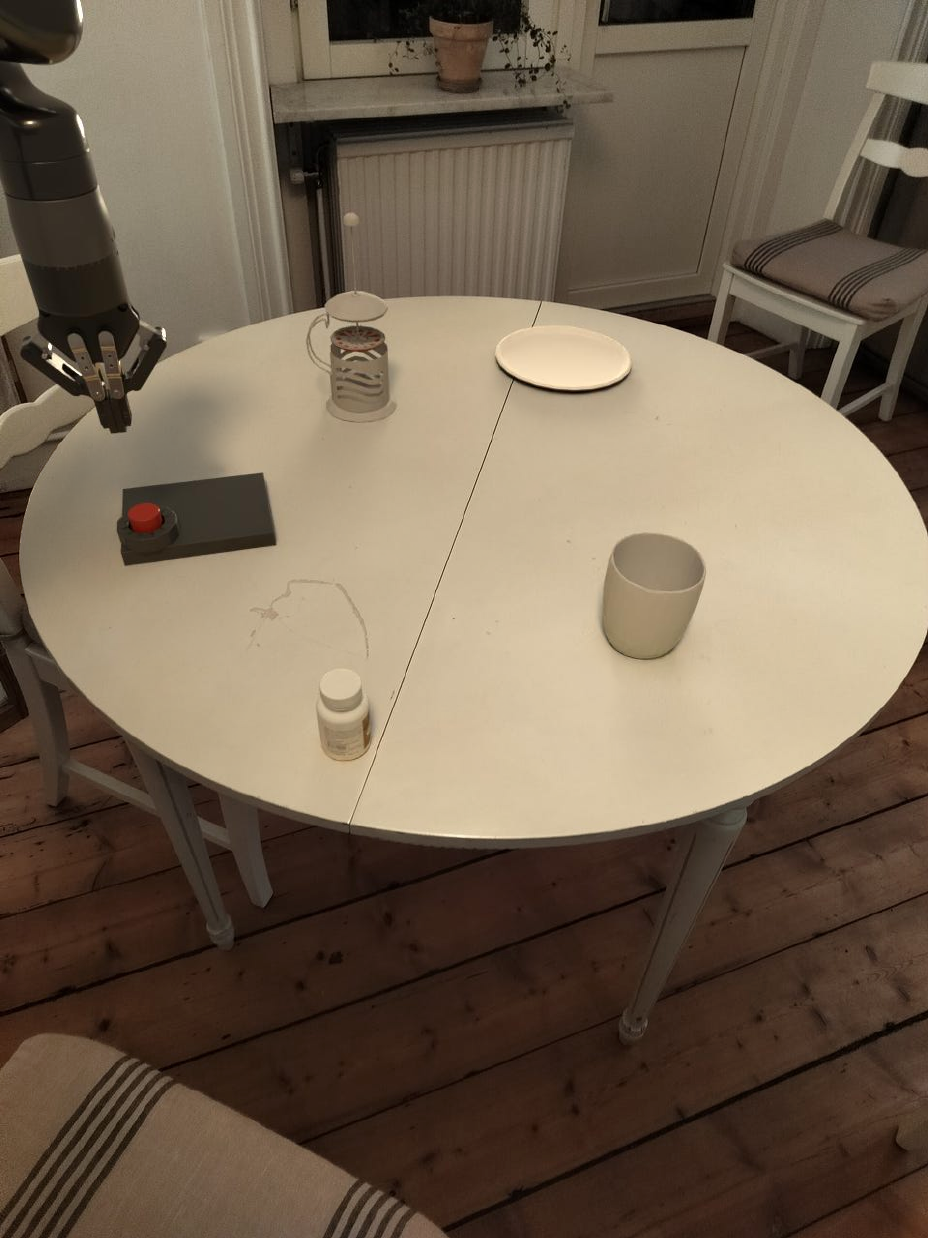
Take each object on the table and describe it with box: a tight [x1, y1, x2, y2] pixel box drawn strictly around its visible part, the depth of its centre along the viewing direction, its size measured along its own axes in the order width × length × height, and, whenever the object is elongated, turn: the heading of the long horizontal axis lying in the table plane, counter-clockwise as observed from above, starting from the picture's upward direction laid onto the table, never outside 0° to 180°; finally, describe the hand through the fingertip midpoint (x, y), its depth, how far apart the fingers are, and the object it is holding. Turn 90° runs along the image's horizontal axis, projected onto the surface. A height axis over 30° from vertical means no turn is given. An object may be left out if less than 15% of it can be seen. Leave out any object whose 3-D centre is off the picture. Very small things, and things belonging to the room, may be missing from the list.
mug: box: [602, 531, 707, 660], centre depth 82 cm, size 13×9×10 cm
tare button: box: [128, 503, 163, 533], centre depth 89 cm, size 3×3×2 cm
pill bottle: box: [315, 668, 372, 762], centre depth 70 cm, size 4×4×8 cm
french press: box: [305, 212, 398, 423], centre depth 107 cm, size 10×12×25 cm
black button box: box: [116, 472, 277, 567], centre depth 93 cm, size 16×12×4 cm
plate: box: [494, 324, 633, 392], centre depth 126 cm, size 21×21×1 cm
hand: (119, 428), depth 81 cm, fingers closed
